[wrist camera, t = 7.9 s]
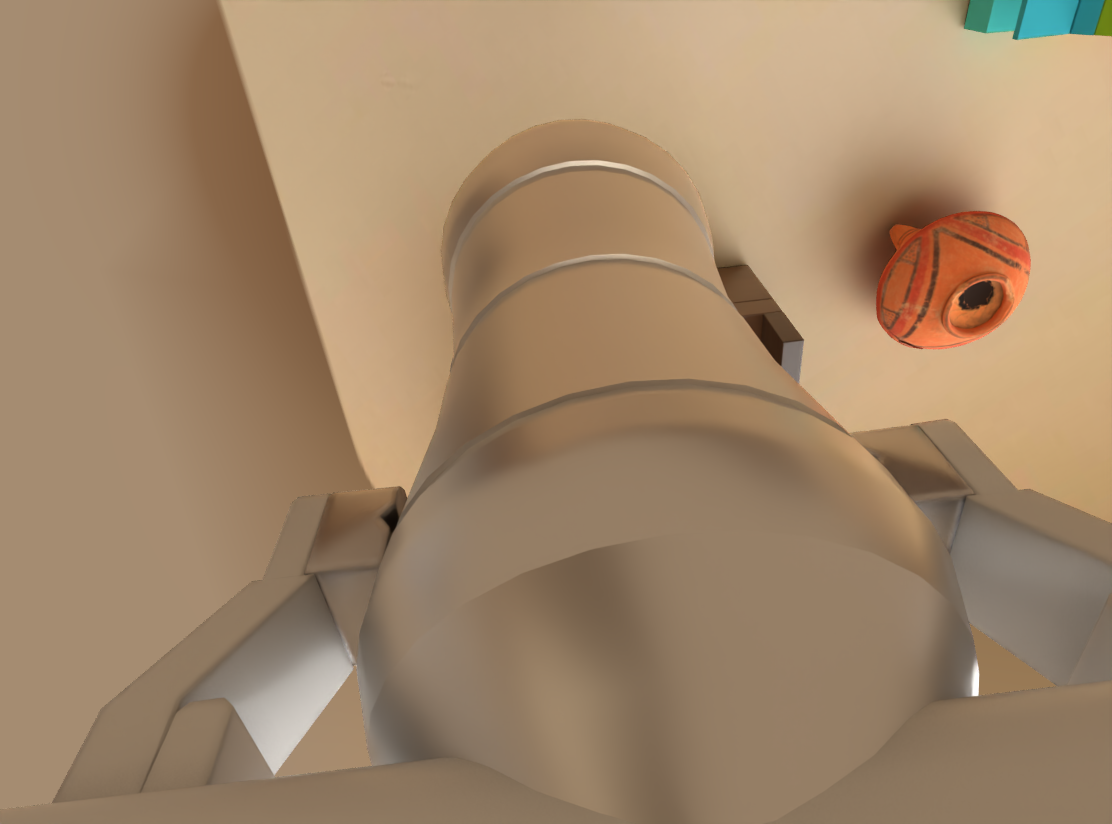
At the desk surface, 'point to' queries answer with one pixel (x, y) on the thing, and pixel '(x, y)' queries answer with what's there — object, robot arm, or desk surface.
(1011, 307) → the pot
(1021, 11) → the chart
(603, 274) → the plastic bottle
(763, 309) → the shelf
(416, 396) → the desk surface
